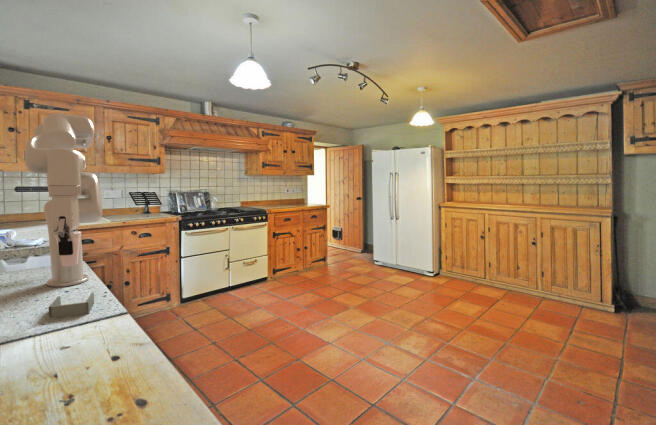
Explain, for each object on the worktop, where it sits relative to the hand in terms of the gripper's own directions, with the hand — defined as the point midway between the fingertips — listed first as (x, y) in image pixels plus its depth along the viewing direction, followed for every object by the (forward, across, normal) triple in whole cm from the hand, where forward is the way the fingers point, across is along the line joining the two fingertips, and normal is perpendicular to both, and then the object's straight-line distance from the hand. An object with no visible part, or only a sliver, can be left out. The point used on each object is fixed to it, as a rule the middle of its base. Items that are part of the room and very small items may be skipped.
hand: (69, 251), depth 100 cm
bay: (+18, 0, 0) cm, 18 cm away
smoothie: (+4, 0, 0) cm, 4 cm away
